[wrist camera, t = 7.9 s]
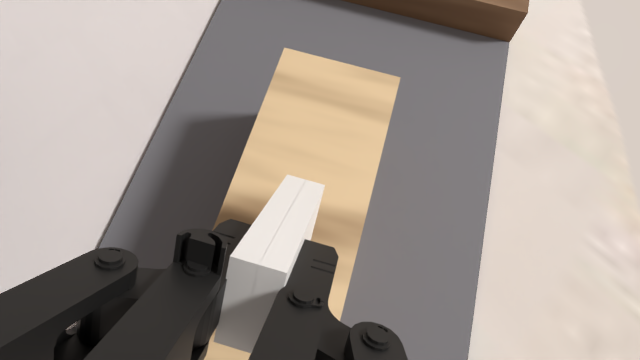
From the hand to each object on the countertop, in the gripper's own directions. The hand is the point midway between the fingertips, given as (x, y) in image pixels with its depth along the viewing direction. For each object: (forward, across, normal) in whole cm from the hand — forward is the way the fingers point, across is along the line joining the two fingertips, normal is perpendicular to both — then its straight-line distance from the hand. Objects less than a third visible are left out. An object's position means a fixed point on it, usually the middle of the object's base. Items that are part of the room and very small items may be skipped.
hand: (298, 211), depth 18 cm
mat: (+11, 0, -1) cm, 11 cm away
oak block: (-1, 0, -8) cm, 8 cm away
